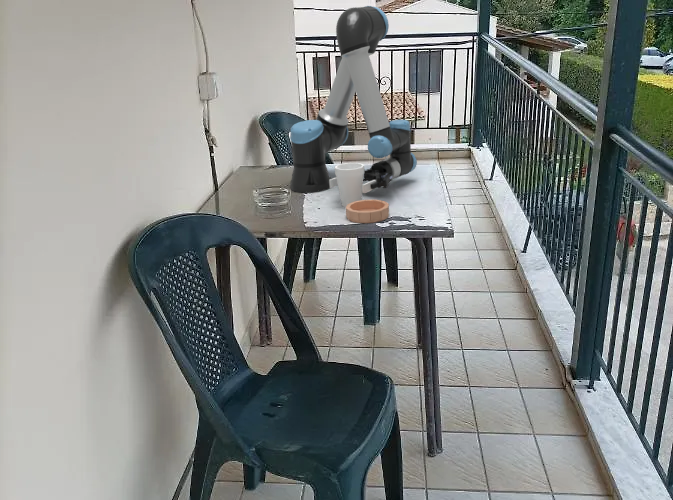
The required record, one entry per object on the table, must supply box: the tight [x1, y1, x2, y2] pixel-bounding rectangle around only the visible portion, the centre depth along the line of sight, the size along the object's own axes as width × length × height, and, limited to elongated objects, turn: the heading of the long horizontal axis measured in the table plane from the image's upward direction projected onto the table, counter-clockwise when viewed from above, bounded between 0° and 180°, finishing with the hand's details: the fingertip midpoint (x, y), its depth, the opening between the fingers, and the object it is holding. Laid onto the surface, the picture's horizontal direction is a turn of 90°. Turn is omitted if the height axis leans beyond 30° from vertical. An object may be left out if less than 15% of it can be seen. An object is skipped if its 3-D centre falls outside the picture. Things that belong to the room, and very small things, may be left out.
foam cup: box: [334, 162, 365, 208], centre depth 207 cm, size 10×9×13 cm
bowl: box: [345, 199, 390, 224], centre depth 197 cm, size 13×13×3 cm
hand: (346, 186), depth 205 cm, fingers open, 13 cm apart
